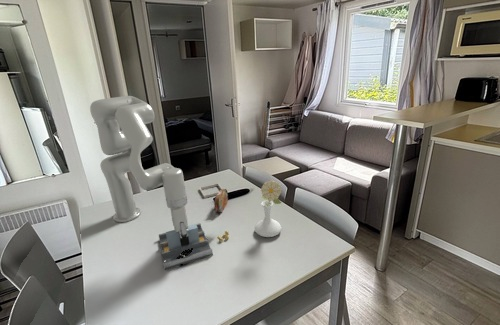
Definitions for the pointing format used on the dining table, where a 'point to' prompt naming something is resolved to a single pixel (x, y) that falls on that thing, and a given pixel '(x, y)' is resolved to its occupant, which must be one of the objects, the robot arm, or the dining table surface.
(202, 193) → the beige square frame
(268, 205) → the flower in vase
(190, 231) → the blue-grey rectangular block
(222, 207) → the tin
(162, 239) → the rack
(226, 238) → the dice set
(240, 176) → the dining table surface
